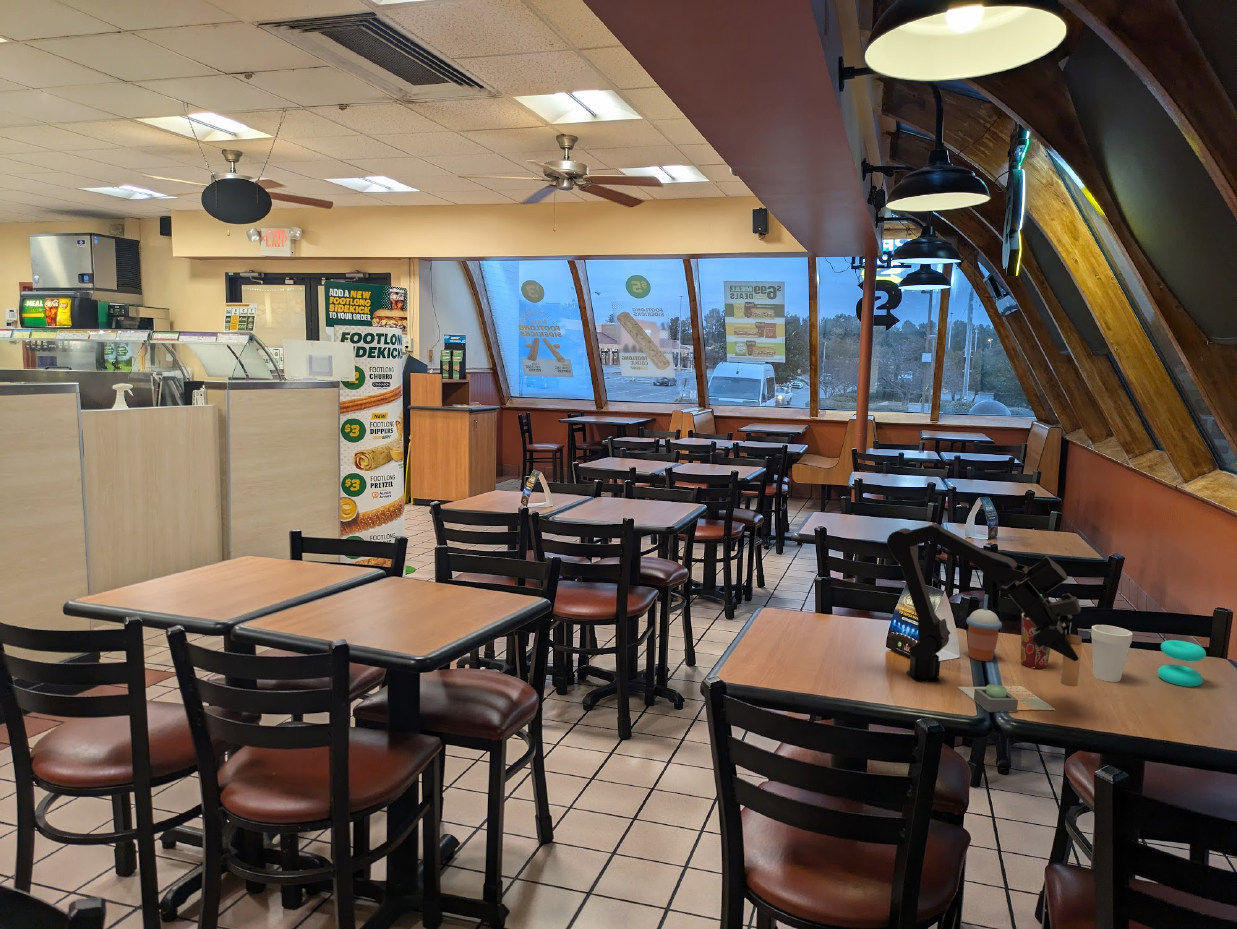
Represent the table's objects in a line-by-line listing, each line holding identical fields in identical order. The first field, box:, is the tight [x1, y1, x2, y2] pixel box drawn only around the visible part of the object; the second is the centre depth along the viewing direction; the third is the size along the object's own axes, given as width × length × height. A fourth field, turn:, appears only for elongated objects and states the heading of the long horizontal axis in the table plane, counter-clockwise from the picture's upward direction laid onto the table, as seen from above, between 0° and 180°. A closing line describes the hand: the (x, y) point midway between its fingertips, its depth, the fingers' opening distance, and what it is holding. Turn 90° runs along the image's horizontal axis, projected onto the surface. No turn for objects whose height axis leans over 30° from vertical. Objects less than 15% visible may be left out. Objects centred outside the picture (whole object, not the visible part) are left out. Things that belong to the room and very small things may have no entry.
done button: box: [986, 683, 1007, 698], centre depth 204 cm, size 4×4×3 cm
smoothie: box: [1020, 593, 1051, 669], centre depth 233 cm, size 8×8×20 cm
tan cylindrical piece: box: [1060, 633, 1083, 687], centre depth 201 cm, size 4×4×12 cm
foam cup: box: [1090, 624, 1133, 683], centre depth 226 cm, size 10×9×13 cm
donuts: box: [1157, 639, 1207, 688], centre depth 226 cm, size 10×10×10 cm
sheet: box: [957, 685, 1056, 713], centre depth 208 cm, size 17×16×3 cm
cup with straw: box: [966, 594, 1003, 662], centre depth 238 cm, size 9×9×18 cm
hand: (1078, 657), depth 200 cm, fingers closed on tan cylindrical piece, 4 cm apart
